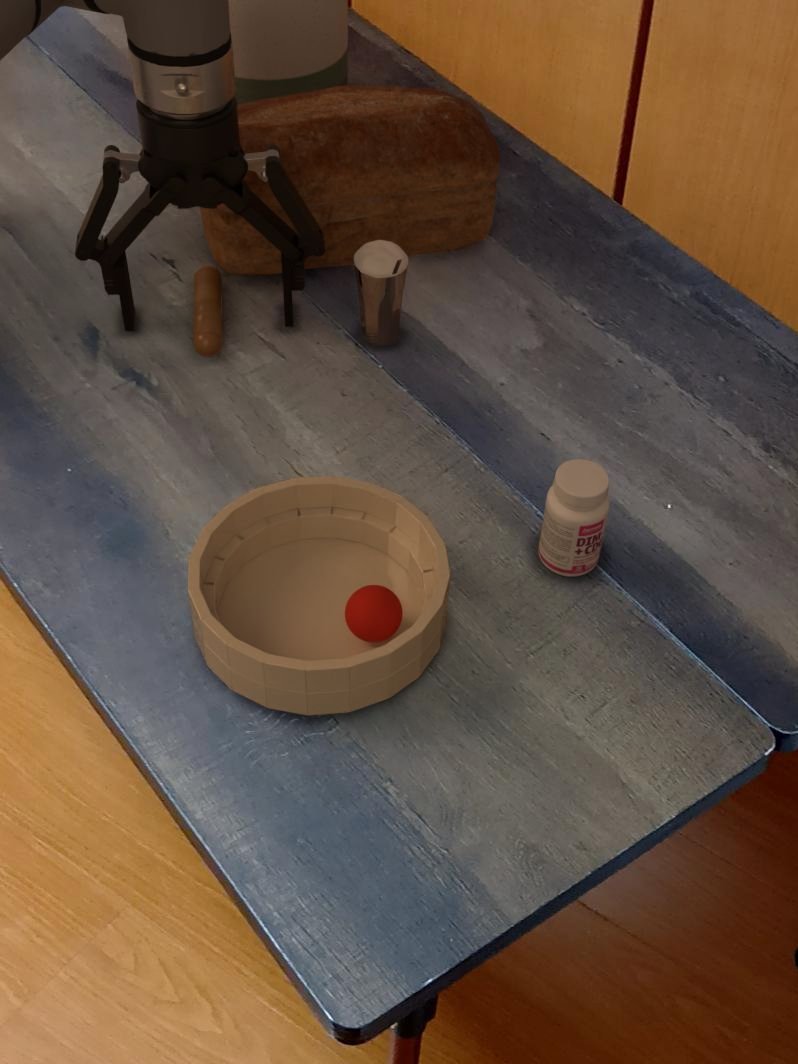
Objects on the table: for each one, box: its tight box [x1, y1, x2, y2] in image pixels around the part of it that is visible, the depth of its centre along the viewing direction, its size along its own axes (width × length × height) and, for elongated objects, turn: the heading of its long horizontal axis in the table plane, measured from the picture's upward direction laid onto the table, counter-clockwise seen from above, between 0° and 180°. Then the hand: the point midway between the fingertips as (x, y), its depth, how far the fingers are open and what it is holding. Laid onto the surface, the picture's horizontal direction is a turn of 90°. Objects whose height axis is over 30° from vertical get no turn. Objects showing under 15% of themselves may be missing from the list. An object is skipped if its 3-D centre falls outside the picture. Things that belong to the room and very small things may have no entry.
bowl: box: [187, 475, 451, 716], centre depth 93 cm, size 18×18×6 cm
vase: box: [228, 0, 349, 104], centre depth 131 cm, size 17×17×24 cm
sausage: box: [192, 264, 223, 357], centre depth 115 cm, size 11×2×2 cm, turn 10°
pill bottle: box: [537, 458, 611, 577], centre depth 98 cm, size 5×5×8 cm
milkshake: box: [354, 240, 409, 347], centre depth 113 cm, size 4×5×10 cm
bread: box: [199, 84, 501, 277], centre depth 121 cm, size 12×28×14 cm, turn 111°
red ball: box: [345, 585, 403, 642], centre depth 92 cm, size 4×4×4 cm
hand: (210, 319), depth 116 cm, fingers open, 13 cm apart
